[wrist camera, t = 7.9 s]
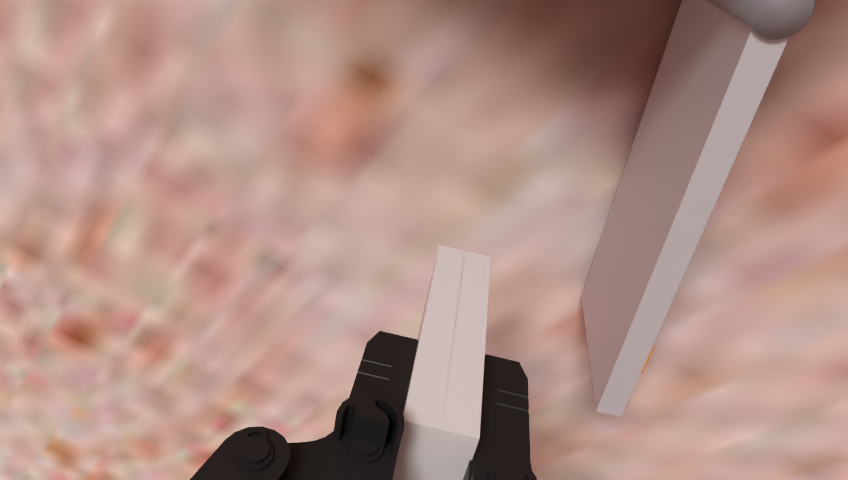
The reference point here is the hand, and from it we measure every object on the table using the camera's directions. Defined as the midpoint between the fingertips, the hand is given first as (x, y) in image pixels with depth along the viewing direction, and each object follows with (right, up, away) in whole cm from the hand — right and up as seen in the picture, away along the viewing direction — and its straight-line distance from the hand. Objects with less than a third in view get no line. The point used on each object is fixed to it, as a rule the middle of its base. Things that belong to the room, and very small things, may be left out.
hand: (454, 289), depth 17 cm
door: (+7, +5, +4) cm, 9 cm away
